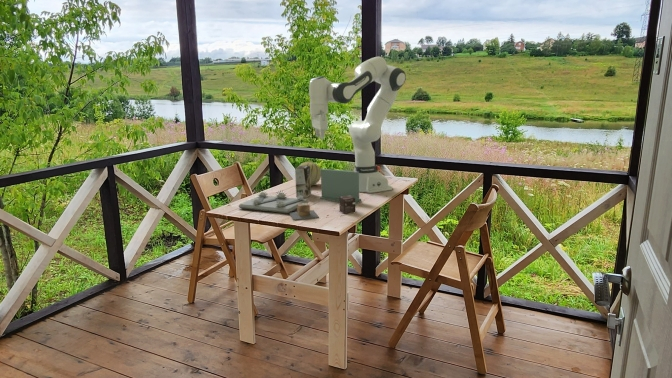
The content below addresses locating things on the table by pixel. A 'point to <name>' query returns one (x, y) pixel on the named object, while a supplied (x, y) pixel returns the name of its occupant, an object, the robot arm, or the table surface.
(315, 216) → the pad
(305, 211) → the letter cube
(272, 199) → the grey spiky constellation board
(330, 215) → the table surface
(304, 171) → the coffee box
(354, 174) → the screen
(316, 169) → the cantaloupe
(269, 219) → the table surface
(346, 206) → the box
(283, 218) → the table surface
